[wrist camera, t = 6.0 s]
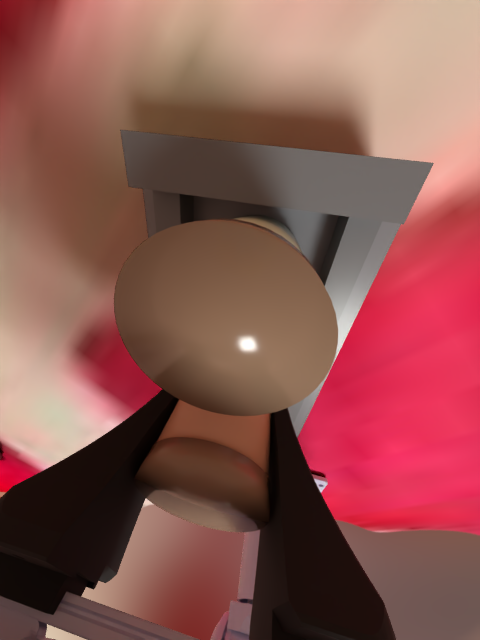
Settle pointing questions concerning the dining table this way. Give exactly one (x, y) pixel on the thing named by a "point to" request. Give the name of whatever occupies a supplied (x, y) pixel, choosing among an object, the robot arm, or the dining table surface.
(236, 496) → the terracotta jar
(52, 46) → the dining table surface
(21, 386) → the dining table surface
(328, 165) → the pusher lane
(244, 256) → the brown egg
